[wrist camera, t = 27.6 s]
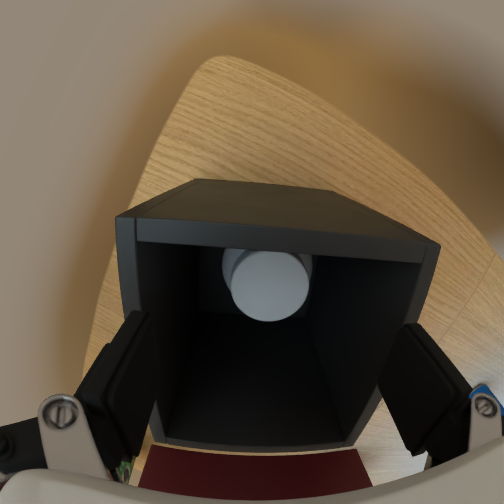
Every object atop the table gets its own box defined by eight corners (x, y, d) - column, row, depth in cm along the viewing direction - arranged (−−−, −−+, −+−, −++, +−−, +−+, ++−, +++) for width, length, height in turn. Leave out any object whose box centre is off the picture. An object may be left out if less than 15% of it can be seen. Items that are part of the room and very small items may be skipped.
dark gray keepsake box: (194, 178, 22) (113, 216, 8) (333, 191, 23) (442, 245, 9) (192, 312, 26) (153, 442, 12) (310, 320, 27) (352, 446, 13)
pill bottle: (308, 231, 23) (346, 277, 14) (267, 279, 24) (279, 348, 15) (256, 190, 22) (262, 211, 13) (216, 243, 23) (196, 296, 14)
